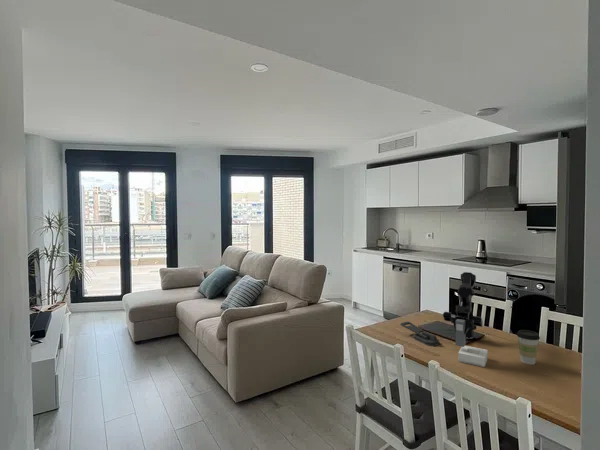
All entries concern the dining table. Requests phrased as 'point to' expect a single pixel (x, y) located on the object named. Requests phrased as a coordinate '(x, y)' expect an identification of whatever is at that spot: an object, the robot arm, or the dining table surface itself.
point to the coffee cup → (528, 346)
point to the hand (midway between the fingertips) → (460, 333)
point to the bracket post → (460, 332)
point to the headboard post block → (473, 356)
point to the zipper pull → (421, 335)
